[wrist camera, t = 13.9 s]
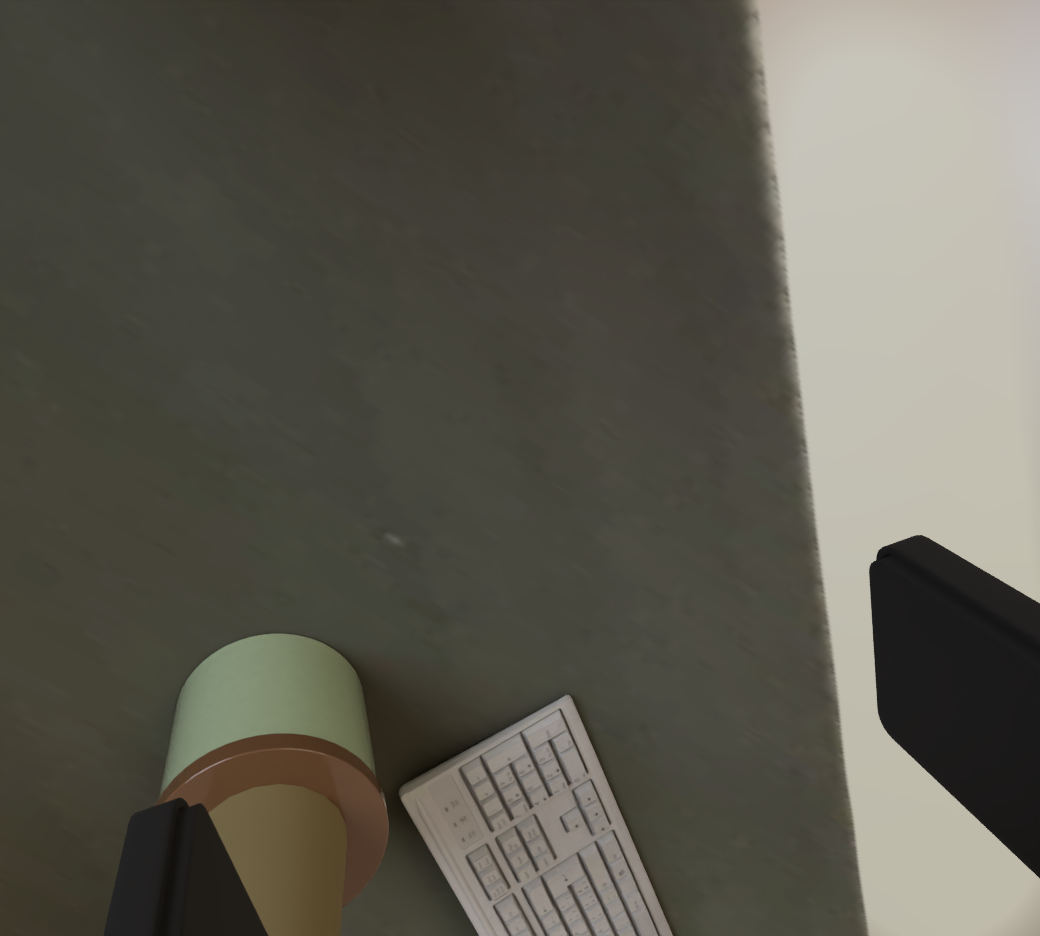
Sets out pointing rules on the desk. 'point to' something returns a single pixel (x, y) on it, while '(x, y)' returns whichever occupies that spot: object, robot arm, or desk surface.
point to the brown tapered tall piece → (287, 856)
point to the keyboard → (535, 834)
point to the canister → (281, 737)
